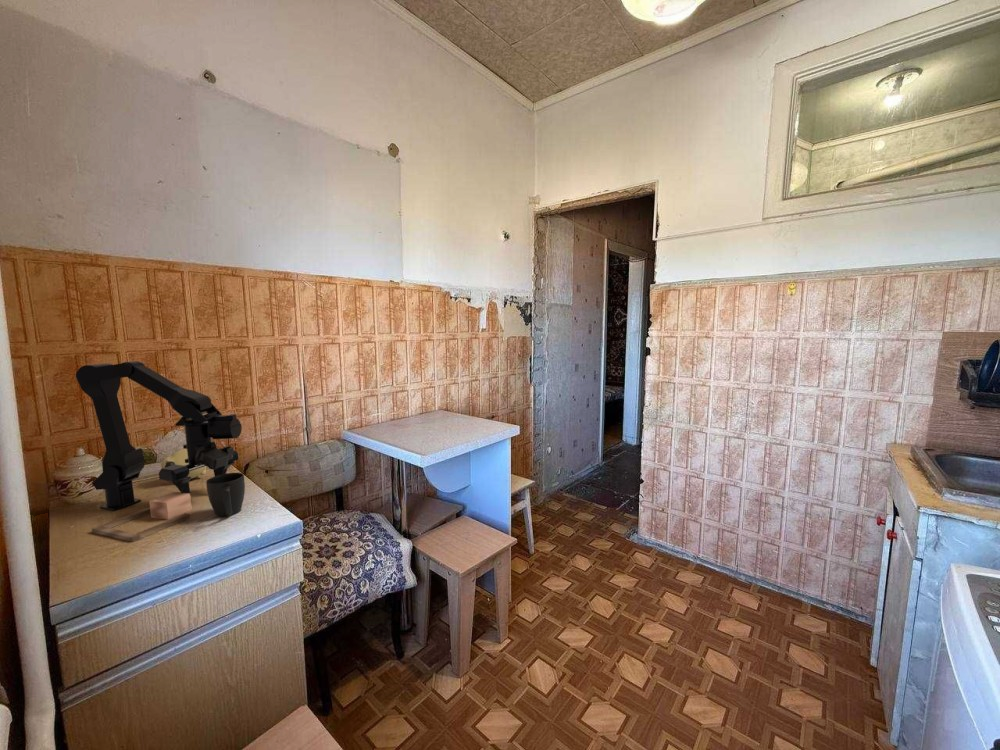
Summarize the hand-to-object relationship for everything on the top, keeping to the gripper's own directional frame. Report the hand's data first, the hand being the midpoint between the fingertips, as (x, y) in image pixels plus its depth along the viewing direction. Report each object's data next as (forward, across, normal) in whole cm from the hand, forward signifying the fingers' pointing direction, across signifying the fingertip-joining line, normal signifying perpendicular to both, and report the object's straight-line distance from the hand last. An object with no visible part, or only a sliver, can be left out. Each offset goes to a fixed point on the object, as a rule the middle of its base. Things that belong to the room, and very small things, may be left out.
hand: (204, 493), depth 115 cm
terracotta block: (+2, -9, 0) cm, 9 cm away
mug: (+2, -6, -16) cm, 17 cm away
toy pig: (+2, +10, +22) cm, 24 cm away
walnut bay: (+2, -15, 0) cm, 15 cm away
